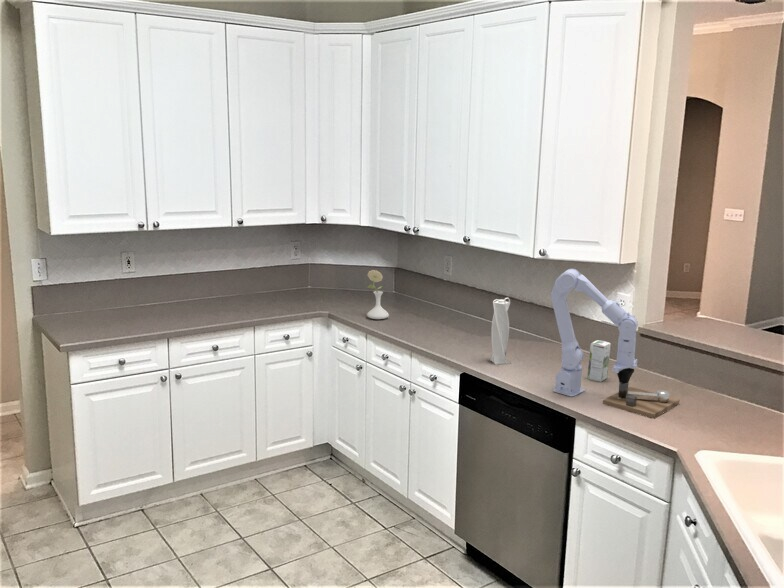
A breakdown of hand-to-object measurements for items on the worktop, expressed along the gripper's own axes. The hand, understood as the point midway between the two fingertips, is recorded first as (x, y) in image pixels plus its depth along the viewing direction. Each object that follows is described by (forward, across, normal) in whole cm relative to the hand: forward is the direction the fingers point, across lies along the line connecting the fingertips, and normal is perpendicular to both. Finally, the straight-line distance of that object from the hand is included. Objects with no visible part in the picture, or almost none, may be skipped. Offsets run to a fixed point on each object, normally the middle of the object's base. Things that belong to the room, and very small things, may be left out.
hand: (623, 388), depth 235 cm
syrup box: (+4, +14, +17) cm, 22 cm away
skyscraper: (+4, +3, +55) cm, 55 cm away
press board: (+4, +1, -6) cm, 8 cm away
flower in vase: (+3, +17, +143) cm, 144 cm away
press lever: (+2, +1, -7) cm, 7 cm away
